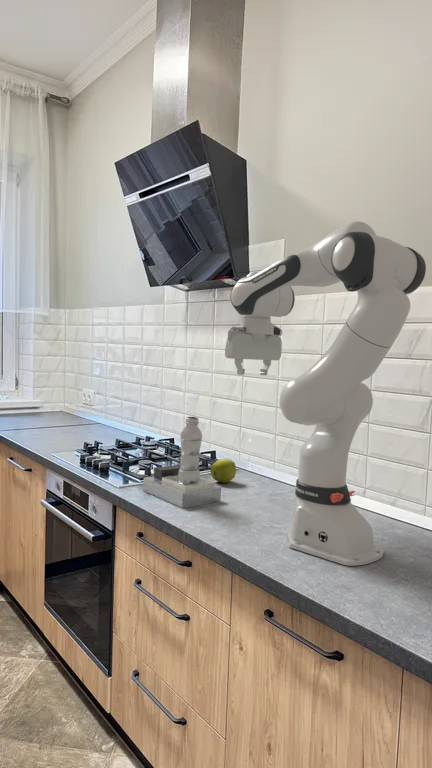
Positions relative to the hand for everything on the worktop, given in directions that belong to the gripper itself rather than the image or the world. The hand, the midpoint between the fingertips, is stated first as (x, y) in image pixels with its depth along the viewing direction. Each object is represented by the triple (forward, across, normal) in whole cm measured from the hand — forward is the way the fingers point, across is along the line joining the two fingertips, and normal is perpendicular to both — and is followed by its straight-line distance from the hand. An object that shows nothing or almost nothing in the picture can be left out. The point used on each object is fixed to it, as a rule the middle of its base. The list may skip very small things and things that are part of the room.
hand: (252, 375), depth 159 cm
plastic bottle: (+33, -16, +7) cm, 38 cm away
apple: (+37, +6, +17) cm, 41 cm away
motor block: (+37, -16, +12) cm, 42 cm away
